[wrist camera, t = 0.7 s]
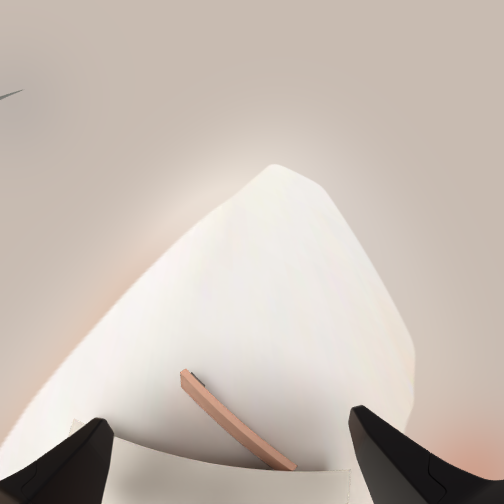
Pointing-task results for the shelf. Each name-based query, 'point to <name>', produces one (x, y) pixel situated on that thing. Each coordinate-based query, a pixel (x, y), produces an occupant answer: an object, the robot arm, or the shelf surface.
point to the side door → (233, 424)
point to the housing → (210, 481)
